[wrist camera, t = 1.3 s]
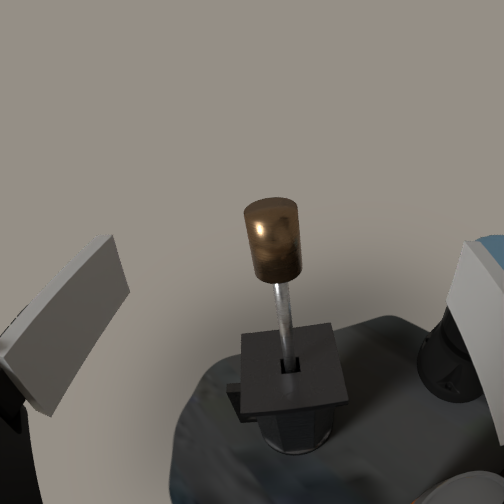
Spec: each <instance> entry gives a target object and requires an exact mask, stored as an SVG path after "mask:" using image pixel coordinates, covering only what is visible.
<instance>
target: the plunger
mask: <svg viewBox="0 0 504 504" xmlns="http://www.w3.org/2000/svg"><path fill="white" fill-rule="evenodd" d="M244 218H245V223H246V228H247V233H248V239H249V244H250V249H251V255H252V260H253V265H254V270H255V274H256V276H257V278H258V279H260V280H261V281H263V282H266V283H270V284H273V288H274V296H275V302H276V309H277V316H278V323H279V330H280V337H281V344H282V351H283V358H284V364H281V371H282V374H289V373H297V372H300V364H299V362H296V359H295V347H294V337H293V326H292V316H291V306H290V297H289V288H288V282H289V281H291V280H293V279H295V278H296V277H297V276H298V275H299V274H300V273H301V271H302V256H301V243H300V231H299V220H298V209H297V205H296V203H295V202H294V201H292V200H290V199H287V198H279V197H274V198H265V199H262V200H258V201H255V202H253V203H251V204H250V205H249V206H247V207H246V208H245V210H244Z"/></svg>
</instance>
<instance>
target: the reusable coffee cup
mask: <svg viewBox="0 0 504 504" xmlns="http://www.w3.org/2000/svg"><path fill="white" fill-rule="evenodd" d="M503 501H504V478H503V477H501V476H499V475H498V474H495V473H492V472H488V471H472V472H466V473H463V474H460V475H457V476H454V477H452V478H449V479H446V480H444V481H442V482H440V483H438V484H436V485H434V486H433V487H431V488H430V489H428V490H427V491H425V492H424V493H423V494H422V495H421V496H420V497H418V498H417V499H416V500H415V501H414V502H412V503H411V504H502V503H503Z"/></svg>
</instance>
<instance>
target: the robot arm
mask: <svg viewBox="0 0 504 504" xmlns="http://www.w3.org/2000/svg"><path fill="white" fill-rule="evenodd" d="M129 293H130V290H129V287H128V285H127V282H126V278H125V275H124V272H123V269H122V265H121V262H120V259H119V255H118V252H117V248H116V245H115V242H114V238H113V235H97V236H96V237H95V238H94V239H93V240H92V241H91V242H90V243H88V244H87V245H86V246H85V247H84V248H83V249H82V250H81V251H80V252H79V253H78V254H77V255H76V256H75V257H74V258H73V259H72V260H71V261H70V262H69V263H68V264H67V265H66V266H65V267H64V268H63V269H62V270H61V271H60V272H59V273H58V274H57V275H56V276H55V277H54V278H53V279H52V280H51V281H50V282H49V283H48V284H47V285H46V286H45V287H44V288H43V290H42V291H41V292H40V293H39V294H38V295H37V296H36V297H35V298H34V299H33V300H32V302H30V304H28V305H27V306H26V307H25V308H24V309H23V310H22V311H21V312H20V313H19V315H18V316H17V318H15V319H14V320H13V322H12V323H11V325H10V326H8V327H7V329H6V330H5V331H4V332H3V333H2V334H1V336H0V504H43V502H42V498H41V494H40V490H39V485H38V481H37V476H36V471H35V466H34V460H33V454H32V448H31V441H30V433H29V425H28V414H27V410H26V408H25V407H24V405H23V403H24V402H25V400H27V401H28V402H29V403H30V404H31V405H32V407H33V408H34V409H35V410H36V411H38V412H41V413H43V414H45V415H47V416H49V417H51V416H52V415H53V413H54V411H55V409H56V407H57V406H58V404H59V402H60V401H61V399H62V397H63V396H64V394H65V392H66V390H67V389H68V387H69V385H70V384H71V382H72V380H73V379H74V377H75V375H76V374H77V372H78V370H79V369H80V367H81V366H82V364H83V362H84V361H85V359H86V358H87V356H88V354H89V353H90V351H91V350H92V348H93V347H94V345H95V343H96V342H97V340H98V339H99V337H100V336H101V334H102V333H103V331H104V330H105V328H106V327H107V325H108V324H109V322H110V321H111V319H112V317H113V316H114V315H115V313H116V312H117V310H118V309H119V307H120V306H121V304H122V303H123V302H124V300H125V299H126V297H127V296H128V294H129ZM446 303H447V307H446V310H445V313H444V316H443V318H442V320H441V321H440V322H439V324H438V325H437V326H436V327H435V328H434V329H433V330H432V331H431V332H430V333H429V334H428V335H427V336H426V338H425V339H424V341H423V343H422V346H421V348H420V351H419V353H418V358H417V368H418V373H419V376H420V378H421V380H422V382H423V384H424V385H425V386H426V388H427V389H428V390H429V391H430V392H431V393H433V394H434V395H435V396H437V397H438V398H440V399H442V400H445V401H448V402H453V403H465V402H470V401H472V400H475V399H477V398H478V397H480V396H481V395H482V394H483V393H484V394H485V397H486V400H487V402H488V406H489V409H490V412H491V415H492V418H493V421H494V425H495V428H496V432H497V435H498V439H499V443H500V446H503V445H504V235H490V236H487V237H481V238H479V239H477V240H475V241H464V244H463V247H462V251H461V254H460V258H459V261H458V265H457V268H456V272H455V275H454V278H453V281H452V284H451V287H450V290H449V293H448V296H447V299H446ZM502 504H504V501H503V503H502Z"/></svg>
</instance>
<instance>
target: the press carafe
mask: <svg viewBox="0 0 504 504" xmlns="http://www.w3.org/2000/svg"><path fill="white" fill-rule="evenodd" d="M293 337H294V347H295V359H296V362H299V364H300V372H297V373H289V374H282V371H281V364H284V358H283V351H282V344H281V337H280V330H272V331H264V332H255V333H245V334H242V335H241V383H232V384H227V391H226V393H227V395H228V397H229V399H230V401H231V403H232V405H233V408H234V410H235V412H236V414H237V416H238V418H239V420H240V422H241V423H246V422H258V424H259V427H260V429H261V433H262V436H263V438H264V440H265V441H266V443H267V444H268V445H269V446H270V447H271V448H272V449H274V450H276V451H277V452H280V453H282V454H286V455H303V454H307V453H310V452H312V451H314V450H316V449H318V448H319V447H320V446H321V445H322V444H323V443H324V442H325V441H326V440H327V439H328V437H329V435H330V432H331V429H332V424H333V415H334V408H335V407H337V406H343V405H348V401H349V399H348V394H347V390H346V385H345V381H344V376H343V372H342V367H341V363H340V359H339V355H338V350H337V346H336V342H335V338H334V334H333V330H332V326H331V323H324V324H317V325H310V326H303V327H296V328H293Z"/></svg>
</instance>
